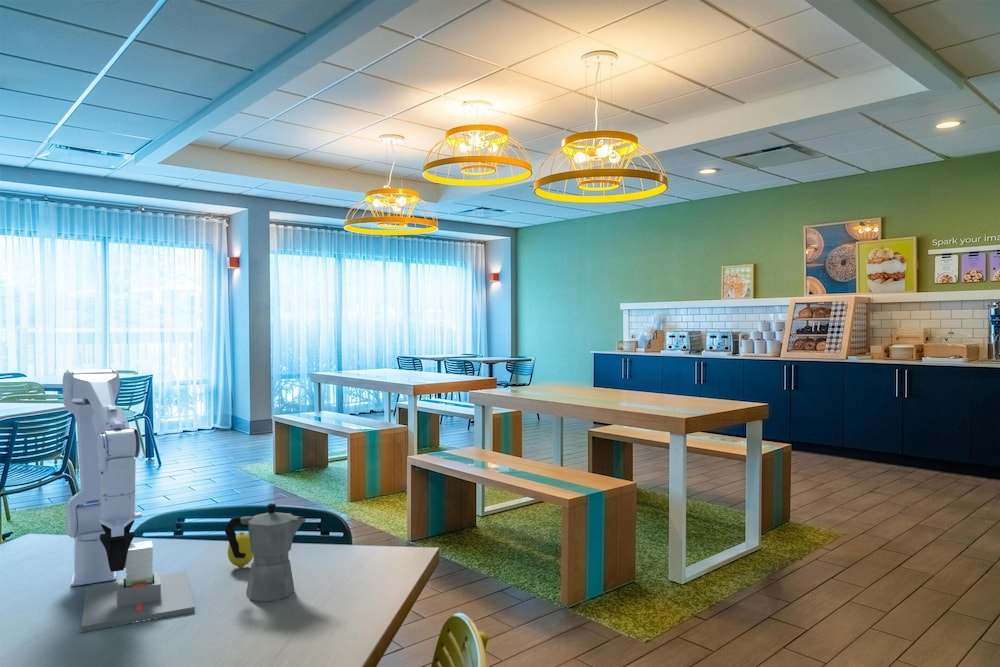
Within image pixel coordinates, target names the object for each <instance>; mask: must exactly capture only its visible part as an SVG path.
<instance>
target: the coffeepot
mask: <svg viewBox="0 0 1000 667" xmlns="http://www.w3.org/2000/svg"><path fill="white" fill-rule="evenodd" d="M266 506H267V511H268V512H265V513H260V514H256V515H254V516H250V515H249V516H247V515H246V516H233V517H232V518H230V519H229V521H228V522H227V523H226V524H225V526H224V532H225V535H226V538H227V540H228V545H229V544H230V546H231V549H232V552H233V555H234V557H235V558H245V556H246V553H240V551H239V544H238V542H237V540H236V535H237V534H236V531H235V527H240V528H241V527H242V528H247V530H248V535H249V539H250V546H251V552H252V553H253V555H254V556H253V559H252V560H253V561H251V565H250V570H249V576H248V581H247V586H246V591H245V594H246V596H247V598H248V599H249V600H251V601H253V602H257V601H259V603H269V602H270V601H271V602H276V600H277V601H280V599H281V600H283V599H286V598H288V597H289V596H291V595H292V594H293V592H294V591H295V584H294V579H293V578H294V576H293V573H292V572H293V571H292V565H291V560H290V559H289V552H290V551H291V549H292V544H293V538H294V537H295V536H296V534H297V533H298V532H297V531H298V530H299V528H300V527H301V526H302V524H304V522H307V521H306V519H305V517H304V516H298V515H293V513H290V512H289V513H288V512H287V513H286V512H276V507H277V506H276V503H269V504H267V505H266ZM271 602H270V603H271Z"/></svg>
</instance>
